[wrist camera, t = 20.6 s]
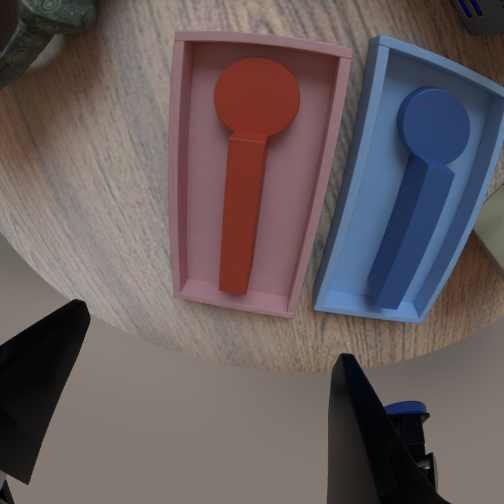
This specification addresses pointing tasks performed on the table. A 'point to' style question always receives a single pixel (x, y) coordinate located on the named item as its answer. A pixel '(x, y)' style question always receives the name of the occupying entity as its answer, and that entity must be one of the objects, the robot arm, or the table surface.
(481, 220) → the wooden rectangular block
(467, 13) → the electronic device
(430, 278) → the blue tray
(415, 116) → the blue paddle
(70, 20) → the bracelet
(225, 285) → the red spoon
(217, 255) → the rose tray
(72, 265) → the table surface
